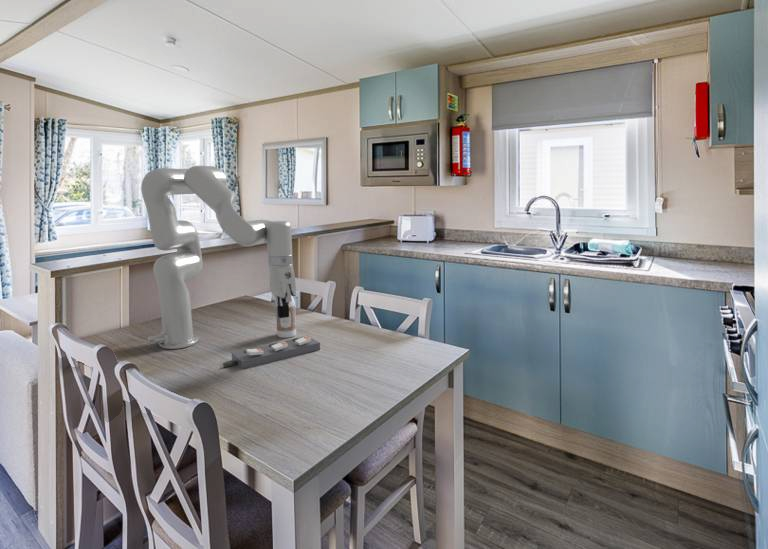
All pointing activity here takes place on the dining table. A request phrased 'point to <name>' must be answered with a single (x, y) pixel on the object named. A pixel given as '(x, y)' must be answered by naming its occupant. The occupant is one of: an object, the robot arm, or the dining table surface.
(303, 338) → the rocker right
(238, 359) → the power strip
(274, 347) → the rocker middle
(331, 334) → the dining table surface
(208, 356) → the dining table surface
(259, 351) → the rocker left
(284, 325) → the bath foam
